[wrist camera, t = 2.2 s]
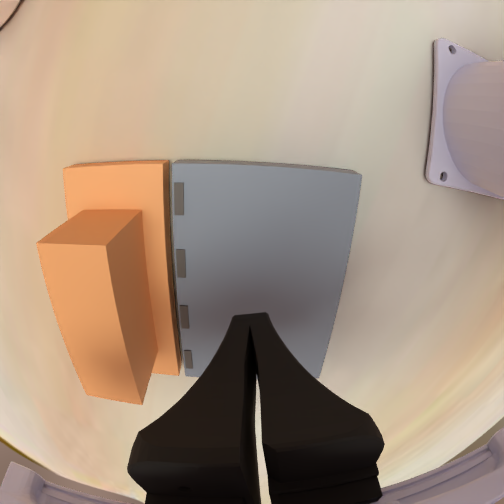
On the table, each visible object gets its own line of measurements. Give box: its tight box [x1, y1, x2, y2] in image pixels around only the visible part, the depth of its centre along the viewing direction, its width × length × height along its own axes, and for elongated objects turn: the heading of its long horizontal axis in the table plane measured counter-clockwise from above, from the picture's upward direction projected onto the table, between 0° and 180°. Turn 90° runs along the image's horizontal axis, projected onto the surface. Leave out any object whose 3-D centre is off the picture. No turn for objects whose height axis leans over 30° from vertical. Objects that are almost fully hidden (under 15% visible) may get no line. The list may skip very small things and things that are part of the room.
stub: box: [36, 160, 182, 405], centre depth 13 cm, size 5×12×5 cm, turn 177°
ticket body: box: [172, 160, 362, 379], centre depth 15 cm, size 8×12×1 cm, turn 177°
